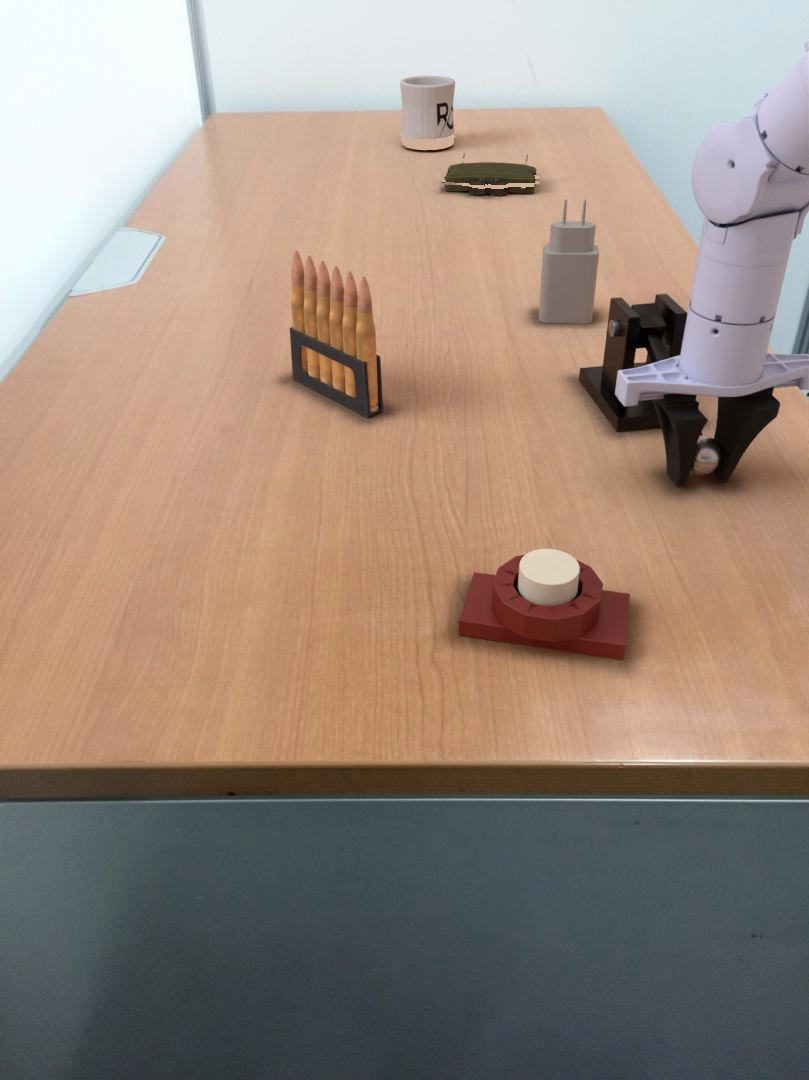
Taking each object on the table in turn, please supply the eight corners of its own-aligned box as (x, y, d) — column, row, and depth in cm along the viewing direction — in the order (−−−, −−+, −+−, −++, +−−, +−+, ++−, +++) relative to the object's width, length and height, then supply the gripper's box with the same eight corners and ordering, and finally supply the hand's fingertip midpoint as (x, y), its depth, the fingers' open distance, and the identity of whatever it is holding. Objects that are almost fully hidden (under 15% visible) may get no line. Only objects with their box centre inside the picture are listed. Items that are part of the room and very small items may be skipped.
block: (628, 600, 61) (634, 563, 60) (622, 668, 56) (628, 630, 55) (475, 579, 63) (476, 542, 62) (455, 643, 58) (456, 605, 57)
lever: (720, 480, 73) (733, 456, 70) (683, 485, 72) (695, 460, 70) (652, 325, 82) (662, 299, 80) (619, 328, 82) (627, 301, 79)
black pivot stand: (696, 424, 80) (714, 325, 75) (616, 432, 79) (629, 332, 74) (651, 373, 88) (665, 280, 83) (578, 379, 87) (587, 286, 82)
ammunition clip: (384, 411, 83) (380, 276, 76) (368, 418, 82) (362, 282, 75) (308, 372, 89) (297, 245, 82) (292, 378, 88) (280, 250, 81)
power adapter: (592, 323, 98) (605, 204, 91) (539, 322, 98) (547, 204, 91) (590, 312, 100) (602, 195, 93) (538, 311, 101) (546, 194, 94)
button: (580, 575, 59) (582, 552, 58) (574, 611, 57) (576, 588, 56) (522, 567, 60) (524, 544, 59) (513, 602, 57) (515, 579, 56)
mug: (437, 155, 154) (438, 87, 148) (389, 148, 158) (388, 82, 152) (473, 139, 163) (475, 74, 157) (427, 133, 166) (427, 70, 161)
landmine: (438, 175, 135) (450, 149, 147) (438, 194, 136) (450, 167, 148) (539, 178, 133) (543, 151, 145) (538, 197, 134) (542, 169, 146)
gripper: (801, 279, 69) (761, 442, 77) (610, 294, 67) (590, 459, 75) (854, 318, 64) (805, 488, 72) (647, 335, 62) (621, 508, 70)
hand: (697, 477), depth 73 cm, fingers closed on lever, 3 cm apart
